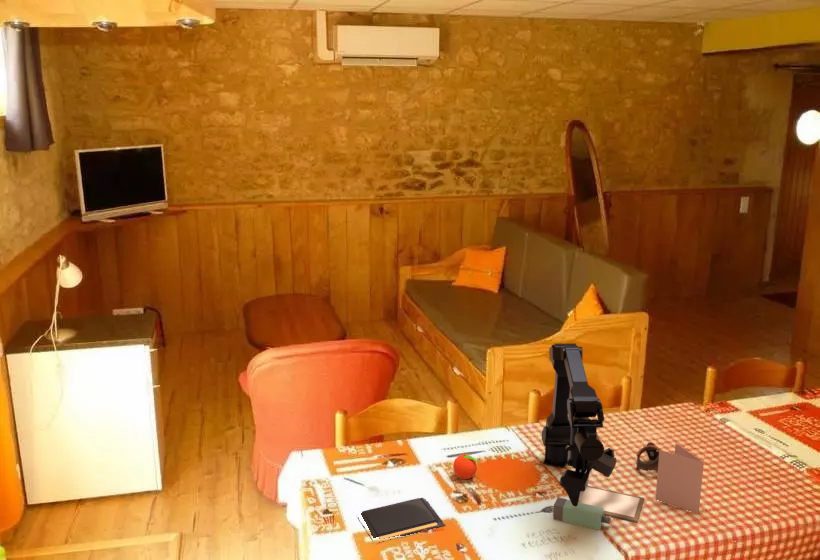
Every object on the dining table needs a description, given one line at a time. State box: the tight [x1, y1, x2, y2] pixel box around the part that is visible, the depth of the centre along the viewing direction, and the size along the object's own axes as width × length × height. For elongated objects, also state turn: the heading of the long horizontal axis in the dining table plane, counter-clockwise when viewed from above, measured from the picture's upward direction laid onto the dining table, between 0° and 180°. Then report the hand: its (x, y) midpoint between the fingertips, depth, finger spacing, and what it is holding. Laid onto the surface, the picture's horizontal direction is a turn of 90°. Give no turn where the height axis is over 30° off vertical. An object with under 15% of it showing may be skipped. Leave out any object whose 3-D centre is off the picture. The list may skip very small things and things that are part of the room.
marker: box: [552, 496, 612, 531], centre depth 184 cm, size 14×4×4 cm, turn 64°
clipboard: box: [579, 485, 645, 524], centre depth 192 cm, size 18×12×1 cm, turn 64°
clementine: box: [452, 453, 480, 480], centre depth 205 cm, size 8×7×7 cm
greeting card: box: [655, 442, 705, 515], centre depth 189 cm, size 11×7×15 cm, turn 17°
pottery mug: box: [635, 441, 662, 472], centre depth 210 cm, size 12×10×8 cm
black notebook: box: [361, 497, 446, 539], centre depth 186 cm, size 20×2×15 cm
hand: (579, 496), depth 183 cm, fingers open, 9 cm apart
